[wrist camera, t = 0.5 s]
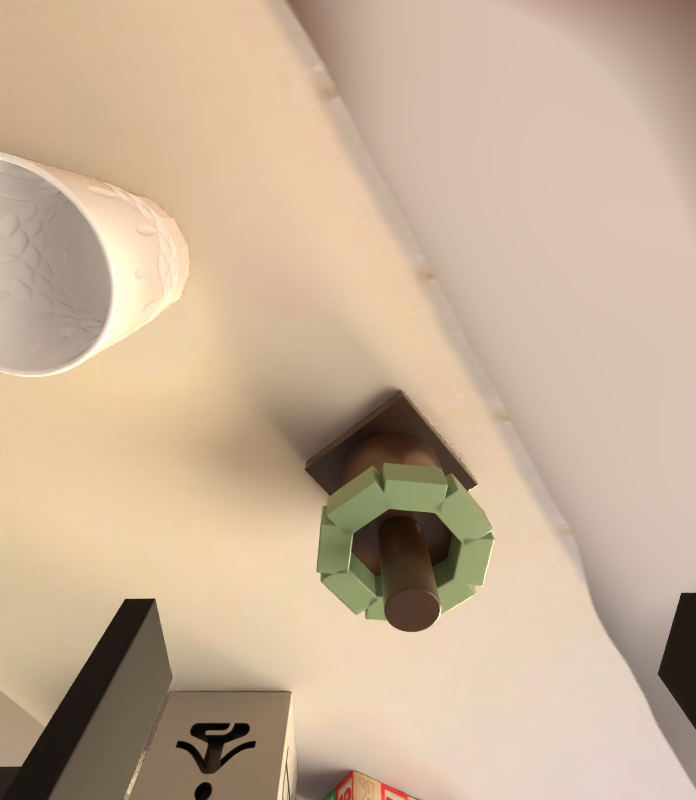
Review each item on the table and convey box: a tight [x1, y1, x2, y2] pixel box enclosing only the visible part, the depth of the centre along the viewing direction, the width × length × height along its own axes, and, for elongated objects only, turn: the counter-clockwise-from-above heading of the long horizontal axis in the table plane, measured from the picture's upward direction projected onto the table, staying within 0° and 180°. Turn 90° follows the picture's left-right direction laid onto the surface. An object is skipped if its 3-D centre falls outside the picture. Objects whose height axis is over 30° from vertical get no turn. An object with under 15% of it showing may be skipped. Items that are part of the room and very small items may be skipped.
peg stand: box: [305, 391, 478, 632], centre depth 25 cm, size 8×8×12 cm
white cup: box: [0, 152, 190, 377], centre depth 21 cm, size 8×8×10 cm
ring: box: [317, 463, 494, 621], centre depth 23 cm, size 8×8×2 cm
